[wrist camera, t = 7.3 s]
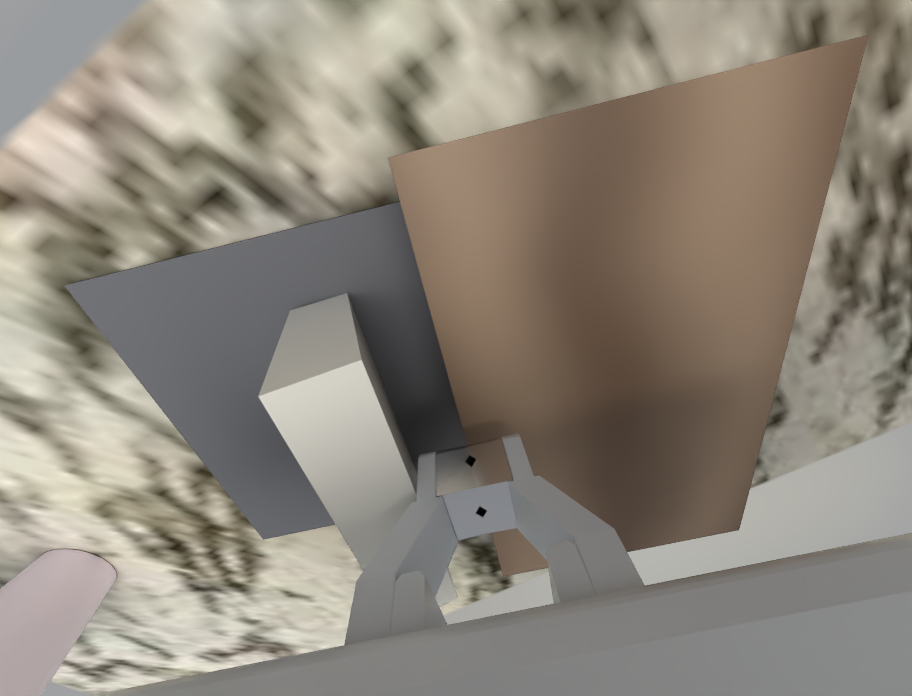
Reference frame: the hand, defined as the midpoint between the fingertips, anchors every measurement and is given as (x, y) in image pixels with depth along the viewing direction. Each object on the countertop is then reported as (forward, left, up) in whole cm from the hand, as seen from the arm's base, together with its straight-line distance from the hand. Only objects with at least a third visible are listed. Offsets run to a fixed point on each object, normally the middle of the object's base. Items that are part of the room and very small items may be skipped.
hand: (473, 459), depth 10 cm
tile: (+2, 0, -2) cm, 3 cm away
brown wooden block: (-5, 0, -5) cm, 7 cm away
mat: (+6, 0, -5) cm, 8 cm away
